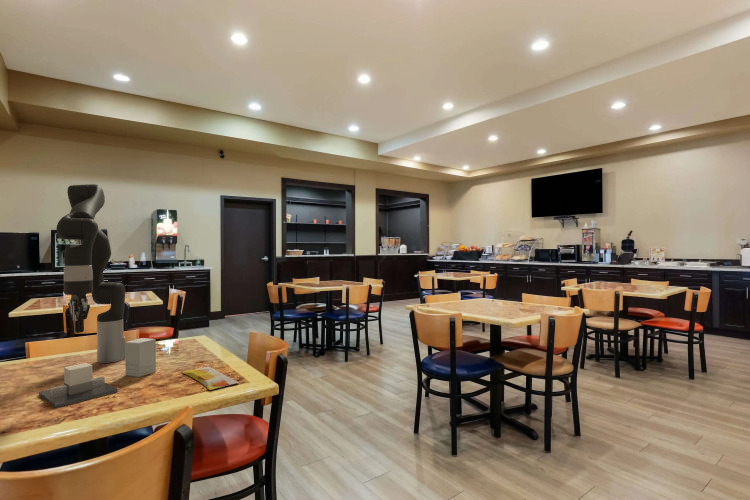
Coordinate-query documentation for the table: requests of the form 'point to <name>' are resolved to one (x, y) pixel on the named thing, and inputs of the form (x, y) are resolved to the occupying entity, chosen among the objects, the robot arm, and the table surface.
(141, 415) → the table surface
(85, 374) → the block
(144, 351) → the supplement box
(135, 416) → the table surface
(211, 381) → the food package
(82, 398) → the rail board
